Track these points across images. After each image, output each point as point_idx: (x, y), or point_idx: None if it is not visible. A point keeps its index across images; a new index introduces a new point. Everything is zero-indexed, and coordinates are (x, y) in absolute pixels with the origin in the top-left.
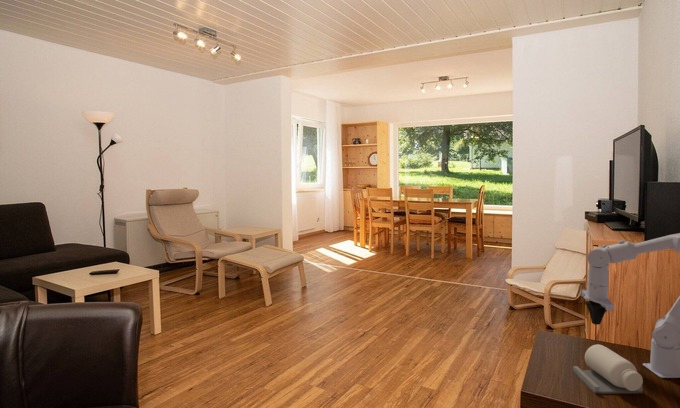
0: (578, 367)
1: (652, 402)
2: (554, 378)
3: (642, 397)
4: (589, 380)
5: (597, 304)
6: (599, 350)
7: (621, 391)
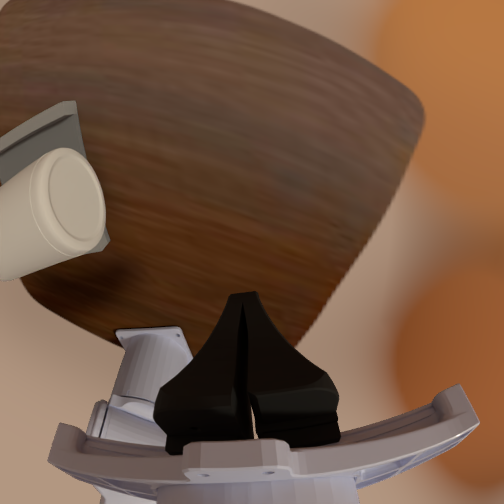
0: (56, 118)
1: None
2: (42, 46)
3: None
4: (2, 140)
5: (195, 440)
6: (9, 210)
7: None
